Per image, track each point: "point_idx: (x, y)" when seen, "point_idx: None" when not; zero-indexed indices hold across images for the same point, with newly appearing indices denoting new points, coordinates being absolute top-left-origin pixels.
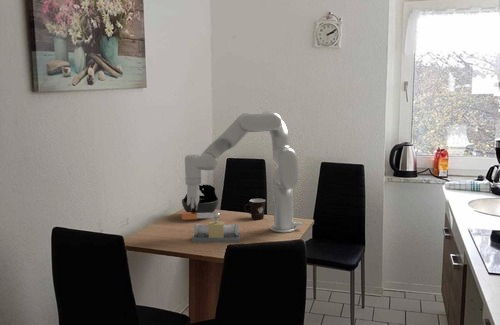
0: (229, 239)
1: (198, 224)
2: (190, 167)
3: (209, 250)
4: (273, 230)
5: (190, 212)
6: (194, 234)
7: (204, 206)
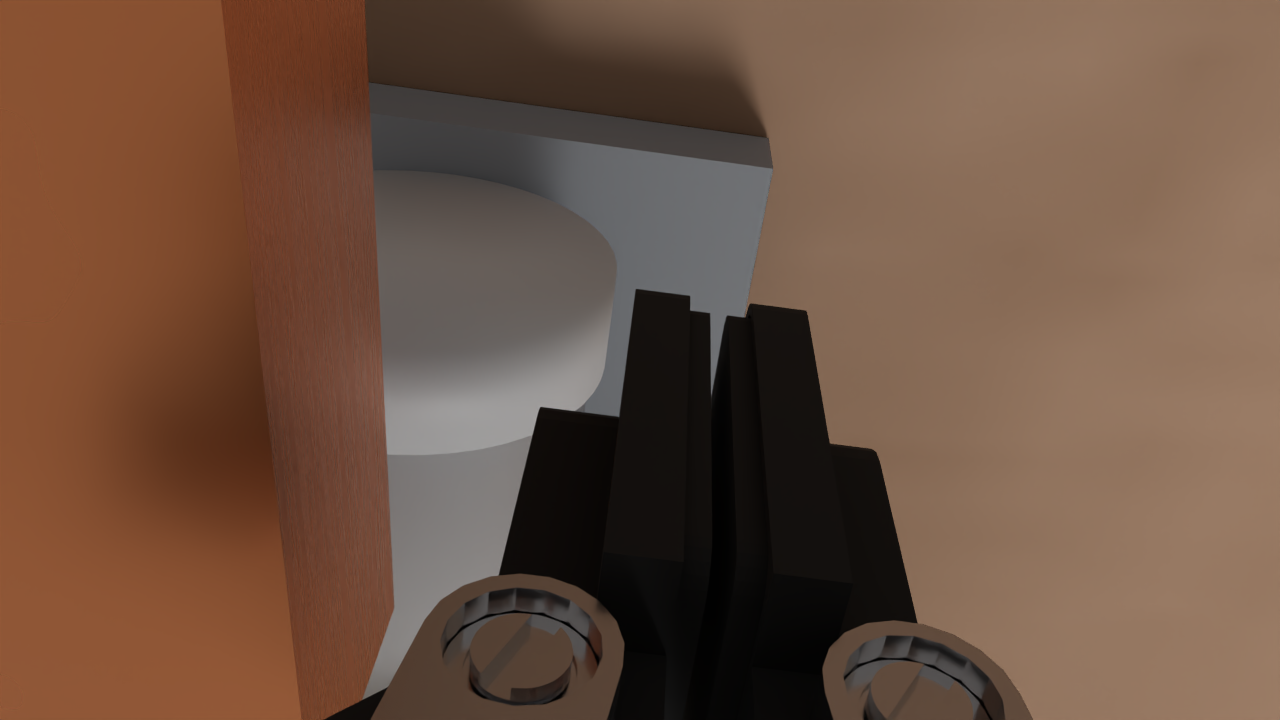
0: None
1: (488, 438)
2: None
3: None
4: None
5: (196, 504)
6: (605, 149)
7: None
